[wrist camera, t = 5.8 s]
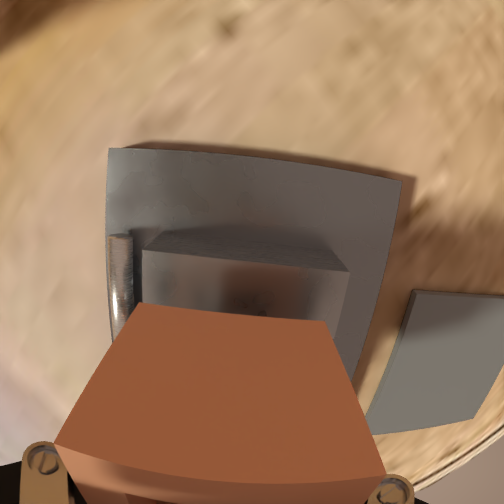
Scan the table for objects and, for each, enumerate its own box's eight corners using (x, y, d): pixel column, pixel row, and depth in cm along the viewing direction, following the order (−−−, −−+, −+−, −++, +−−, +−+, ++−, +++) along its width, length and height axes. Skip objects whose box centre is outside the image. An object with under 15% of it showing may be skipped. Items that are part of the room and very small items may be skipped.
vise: (120, 148, 15) (-65, 157, 4) (389, 178, 15) (571, 230, 4) (128, 394, 19) (72, 531, 8) (328, 414, 20) (363, 557, 9)
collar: (139, 301, 10) (53, 443, 4) (324, 321, 10) (386, 474, 4) (150, 425, 12) (116, 544, 6) (291, 438, 12) (308, 561, 6)
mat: (412, 289, 17) (416, 293, 17) (525, 297, 18) (530, 299, 17) (358, 430, 21) (360, 436, 20) (470, 414, 21) (473, 418, 20)
